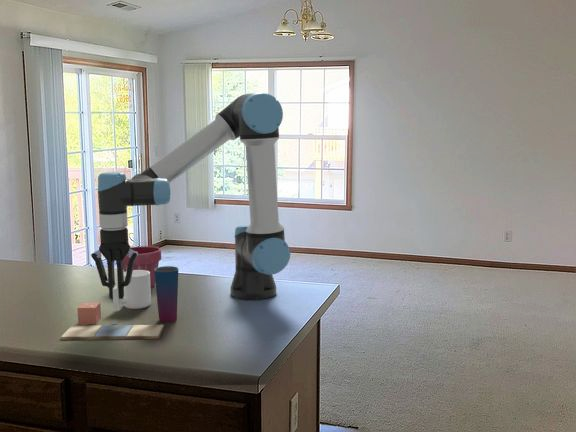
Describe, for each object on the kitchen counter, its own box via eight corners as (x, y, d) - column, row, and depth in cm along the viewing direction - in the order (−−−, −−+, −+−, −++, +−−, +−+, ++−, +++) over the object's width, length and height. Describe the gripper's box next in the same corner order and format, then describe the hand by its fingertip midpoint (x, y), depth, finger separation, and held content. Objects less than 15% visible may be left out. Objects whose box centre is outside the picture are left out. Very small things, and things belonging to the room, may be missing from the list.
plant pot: (127, 280, 220) (126, 245, 218) (166, 280, 220) (165, 245, 218) (115, 291, 206) (113, 254, 204) (156, 291, 205) (155, 254, 203)
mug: (122, 314, 182) (121, 280, 180) (107, 308, 188) (106, 275, 186) (156, 305, 191) (155, 272, 189) (141, 299, 196) (139, 268, 195)
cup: (156, 324, 173) (155, 272, 170) (155, 317, 179) (153, 267, 177) (181, 322, 174) (179, 270, 172) (178, 315, 181) (177, 265, 179)
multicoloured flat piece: (164, 327, 170) (164, 324, 170) (158, 338, 161) (158, 335, 161) (71, 328, 169) (71, 325, 169) (60, 339, 161) (60, 336, 160)
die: (101, 319, 178) (100, 301, 177) (96, 324, 173) (95, 307, 172) (83, 319, 177) (82, 302, 177) (78, 325, 172) (77, 307, 172)
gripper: (140, 225, 175) (143, 305, 179) (93, 225, 175) (97, 305, 178) (134, 230, 168) (137, 313, 171) (86, 230, 167) (90, 313, 171)
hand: (117, 309), depth 175 cm, fingers closed
